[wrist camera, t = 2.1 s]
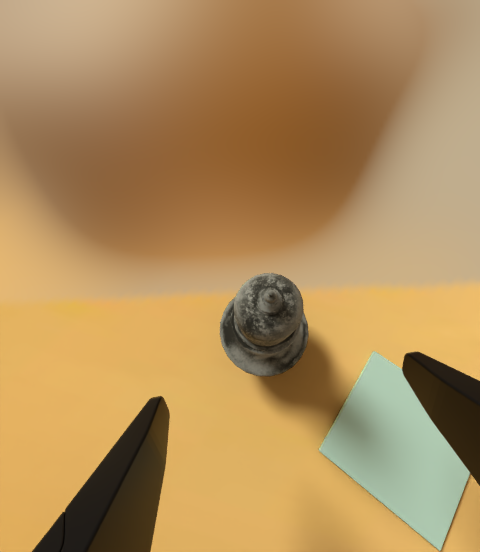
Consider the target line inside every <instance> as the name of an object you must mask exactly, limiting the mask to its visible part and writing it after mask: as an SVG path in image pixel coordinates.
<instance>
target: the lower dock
mask: <svg viewBox="0 0 480 552" xmlns="http://www.w3.org/2000/svg"><path fill="white" fill-rule="evenodd" d="M319 451H320V452H321V453H322V454H324V455H325V456H326V457H327V458H329V459H330V460H331V461H332V462H333V463H335V464H336V465H337V466H338V467H339V468H341V469H342V470H343V471H344V472H345V473H347V474H348V475H349V476H350V477H351V478H353V479H354V480H355V481H356V482H357V483H359V484H360V485H361V486H362V487H363V488H365V489H366V490H367V491H368V492H369V493H371V494H372V495H373V496H374V497H376V498H377V499H378V500H379V501H380V502H382V503H383V504H384V505H385V506H386V507H388V508H389V509H390V510H391V511H392V512H394V513H395V514H396V515H397V516H398V517H400V518H401V519H402V520H403V521H404V522H406V523H407V524H408V525H409V526H410V527H412V528H413V529H414V530H415V531H416V532H418V533H419V534H420V535H421V536H423V537H424V538H425V539H426V540H427V541H429V542H430V543H431V544H432V545H433V546H435V547H436V548H437V549H438V550H439V551H441V548H442V545H443V543H444V540H445V538H446V535H447V532H448V530H449V527H450V524H451V522H452V519H453V517H454V514H455V511H456V509H457V506H458V503H459V501H460V498H461V496H462V493H463V490H464V488H465V485H466V482H467V480H468V477H469V474H470V472H469V471H468V469H467V468H466V466H465V465H464V464H463V462H462V461H461V460H460V458H459V457H458V456H457V454H456V453H455V452H454V450H453V449H452V448H451V446H450V445H449V443H448V442H447V441H446V439H445V438H444V437H443V435H442V434H441V433H440V431H439V430H438V429H437V427H436V426H435V425H434V423H433V422H432V420H431V419H430V417H429V416H428V414H427V413H426V411H425V410H424V408H423V406H422V405H421V403H420V401H419V400H418V398H417V397H416V395H415V393H414V392H413V390H412V388H411V387H410V385H409V383H408V382H407V380H406V379H405V377H404V375H403V372H402V369H401V368H399V367H398V366H396V365H395V364H393V363H392V362H390V361H389V360H387V359H386V358H384V357H383V356H381V355H380V354H378V353H377V352H375V351H373V352H372V354H371V356H370V358H369V360H368V361H367V363H366V365H365V367H364V369H363V370H362V372H361V374H360V376H359V378H358V380H357V381H356V383H355V385H354V387H353V389H352V390H351V392H350V394H349V396H348V398H347V399H346V401H345V403H344V405H343V407H342V408H341V410H340V412H339V414H338V416H337V417H336V419H335V421H334V423H333V425H332V427H331V428H330V430H329V432H328V434H327V436H326V437H325V439H324V441H323V443H322V445H321V446H320V448H319Z"/></svg>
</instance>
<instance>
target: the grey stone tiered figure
mask: <svg viewBox="0 0 480 552" xmlns="http://www.w3.org/2000/svg"><path fill="white" fill-rule="evenodd" d="M220 337H221V342H222V346H223V348H224V350H225V352H226V354H227V356H228V357H229V358H230V360H231V361H232V362H233V363H234V364H235V365H236V366H237V367H239V368H240V369H242V370H243V371H245V372H247V373H250V374H253V375H256V376H273V375H277V374H281V373H283V372H285V371H287V370H288V369H290V368H292V367H293V366H294V365H295V364H296V363H297V361H298V360H299V359H300V358H301V356H302V354H303V352H304V350H305V348H306V345H307V340H308V323H307V320H306V318H305V315H304V312H303V299H302V297H301V294H300V291H299V290H298V288H297V287H296V285H295V284H294V283H293V282H291V281H290V280H289V279H287V278H285V277H284V276H282V275H278V274H273V273H264V274H260V275H256V276H254V277H252V278H251V279H249V280H248V281H246V282H245V283H244V284H243V285H242V287H241V288H240V290H239V291H238V293H237V295H236V297H235V298H234V299H233V300H232V301H231V302H230V303H229V304H228V306H227V307H226V309H225V311H224V313H223V316H222V319H221V322H220Z"/></svg>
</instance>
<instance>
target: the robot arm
mask: <svg viewBox="0 0 480 552" xmlns="http://www.w3.org/2000/svg"><path fill="white" fill-rule="evenodd" d="M402 372H403V375H404V377H405V379H406V380H407V382H408V383H409V385H410V387H411V388H412V390H413V392H414V393H415V395H416V397H417V398H418V400H419V401H420V403H421V405H422V406H423V408H424V410H425V411H426V413H427V414H428V416H429V417H430V419H431V420H432V422H433V423H434V425H435V426H436V427H437V429H438V430H439V431H440V433H441V434H442V435H443V437H444V438H445V439H446V441H447V442H448V443H449V445H450V446H451V448H452V449H453V450H454V452H455V453H456V454H457V456H458V457H459V458H460V460H461V461H462V462H463V464H464V465H465V466H466V468H467V469H468V471H469V472H470V473H471V475H472V476H473V477H474V479H475V480H476V481H477V483H478V484H479V485H480V381H479V380H477V379H474V378H472V377H470V376H468V375H466V374H464V373H462V372H460V371H458V370H456V369H454V368H451V367H449V366H447V365H445V364H443V363H441V362H439V361H437V360H435V359H433V358H431V357H429V356H426V355H424V354H422V353H420V352H410V353H406V354H405V356H404V361H403V367H402ZM169 418H170V414H169V409H168V407H167V405H166V402H165V400H164V398H163V397H162V396H158V397H153V398H151V399H150V400H149V401H148V402H147V403H146V405H145V406H144V407H143V409H142V410H141V411H140V412H139V414H138V415H137V416H136V418H135V419H134V420H133V422H132V423H131V424H130V425H129V427H128V428H127V429H126V431H125V432H124V433H123V435H122V436H121V437H120V438H119V440H118V441H117V442H116V444H115V445H114V446H113V448H112V449H111V450H110V452H109V453H108V454H107V455H106V457H105V458H104V459H103V461H102V462H101V463H100V465H99V466H98V467H97V468H96V470H95V471H94V472H93V474H92V475H91V476H90V478H89V479H88V480H87V481H86V483H85V484H84V485H83V487H82V488H81V489H80V491H79V492H78V493H77V494H76V496H75V497H74V498H73V500H72V501H71V502H70V504H69V505H68V506H67V507H66V509H65V512H63V513H62V514H61V515H60V516H59V518H58V519H57V520H56V522H55V523H54V524H53V526H52V527H51V528H50V529H49V531H48V532H47V533H46V534H45V536H44V537H43V538H42V540H41V541H40V542H39V543H38V545H37V546H36V547H35V548H34V550H33V551H32V552H150V550H151V545H152V539H153V534H154V528H155V522H156V517H157V511H158V505H159V500H160V494H161V488H162V483H163V477H164V471H165V465H166V455H167V443H168V430H169Z"/></svg>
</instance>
